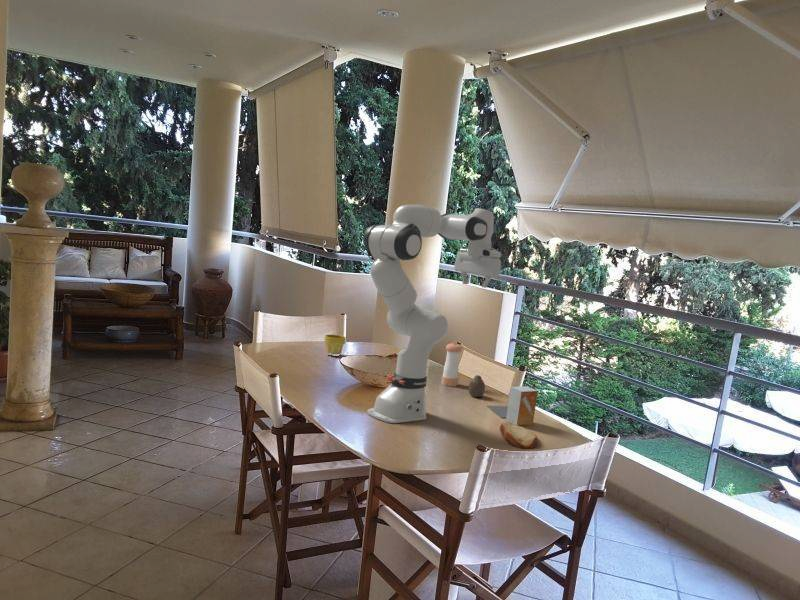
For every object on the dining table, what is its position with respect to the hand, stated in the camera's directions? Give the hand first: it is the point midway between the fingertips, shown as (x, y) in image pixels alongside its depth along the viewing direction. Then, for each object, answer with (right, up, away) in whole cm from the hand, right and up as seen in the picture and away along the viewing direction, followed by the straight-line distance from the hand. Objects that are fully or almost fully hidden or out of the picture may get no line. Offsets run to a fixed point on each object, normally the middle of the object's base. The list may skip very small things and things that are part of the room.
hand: (474, 285), depth 233 cm
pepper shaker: (-7, -44, +32) cm, 55 cm away
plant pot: (-63, -34, +65) cm, 96 cm away
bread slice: (+10, -53, -30) cm, 62 cm away
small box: (+15, -51, -13) cm, 55 cm away
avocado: (+3, -47, +17) cm, 49 cm away
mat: (+12, -50, -2) cm, 51 cm away
